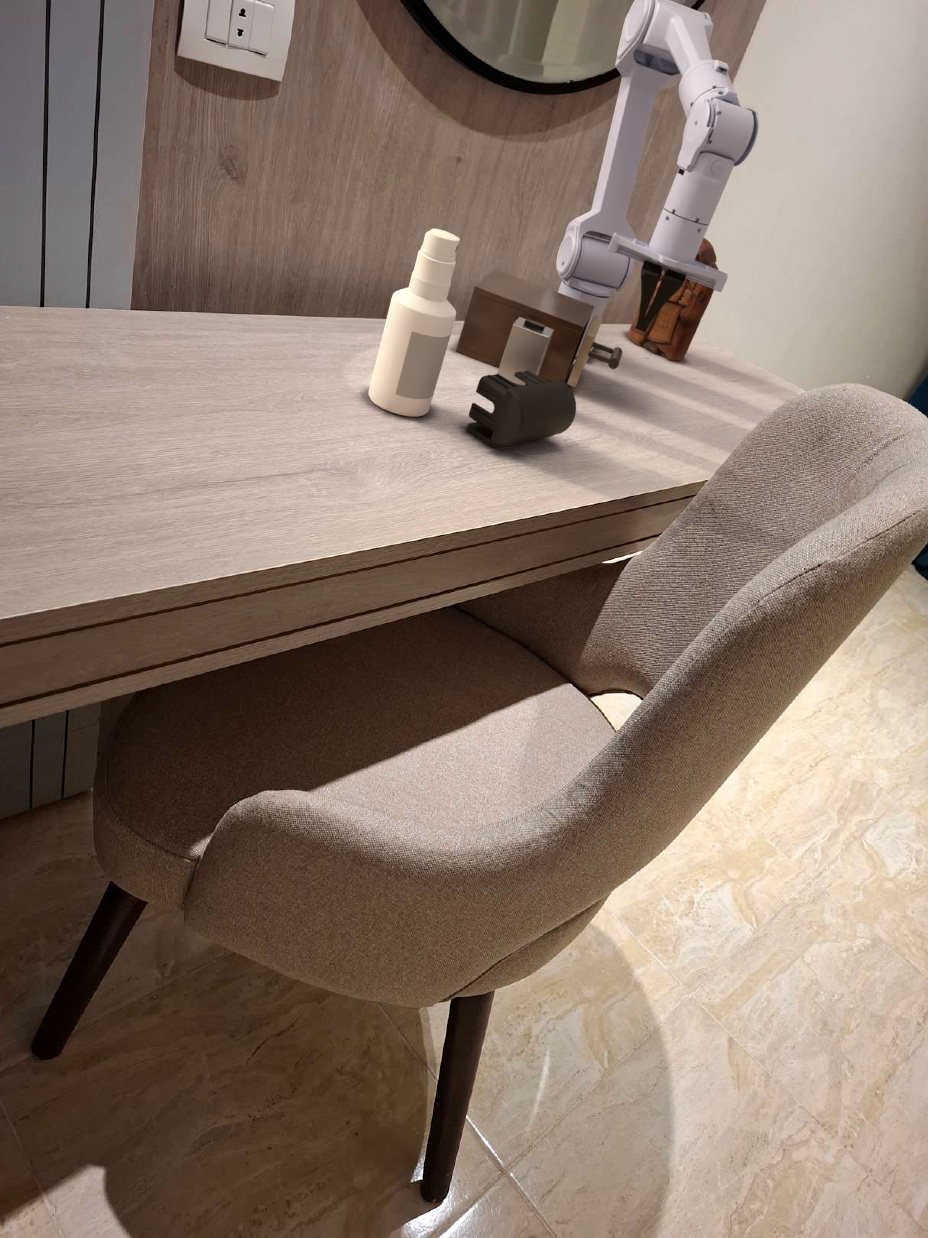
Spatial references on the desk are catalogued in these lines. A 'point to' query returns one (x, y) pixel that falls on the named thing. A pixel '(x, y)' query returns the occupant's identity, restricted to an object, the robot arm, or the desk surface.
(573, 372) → the drawer
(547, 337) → the grey rectangular block
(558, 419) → the end cap
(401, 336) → the spray bottle
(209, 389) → the desk surface
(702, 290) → the wooden figurine
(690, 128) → the robot arm
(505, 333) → the cabinet
